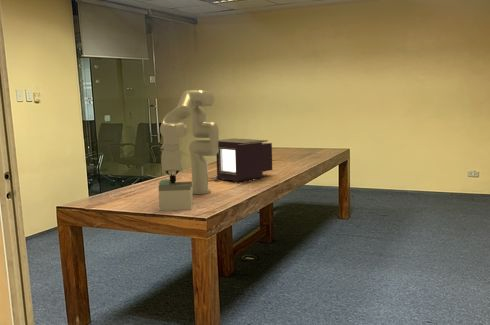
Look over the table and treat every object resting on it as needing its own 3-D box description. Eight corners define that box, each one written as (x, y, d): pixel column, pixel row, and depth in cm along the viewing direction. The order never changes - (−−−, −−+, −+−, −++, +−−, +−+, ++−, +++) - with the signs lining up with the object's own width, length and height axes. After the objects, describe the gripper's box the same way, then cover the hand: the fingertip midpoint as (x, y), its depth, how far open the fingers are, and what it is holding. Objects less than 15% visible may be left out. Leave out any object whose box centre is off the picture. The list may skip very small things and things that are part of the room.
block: (163, 205, 244) (161, 182, 242) (193, 204, 245) (192, 181, 243) (159, 210, 232) (158, 186, 231) (191, 209, 233) (190, 185, 231)
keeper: (161, 182, 241) (161, 179, 241) (171, 182, 241) (171, 179, 241) (159, 185, 232) (159, 182, 232) (169, 185, 232) (168, 182, 232)
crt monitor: (244, 184, 299) (243, 143, 296) (210, 178, 324) (209, 140, 321) (280, 177, 323) (279, 139, 320) (246, 172, 348) (245, 137, 345)
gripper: (155, 149, 230) (157, 185, 233) (185, 148, 231) (187, 183, 234) (157, 147, 237) (159, 182, 240) (186, 146, 238) (187, 181, 241)
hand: (173, 183), depth 237 cm, fingers closed
